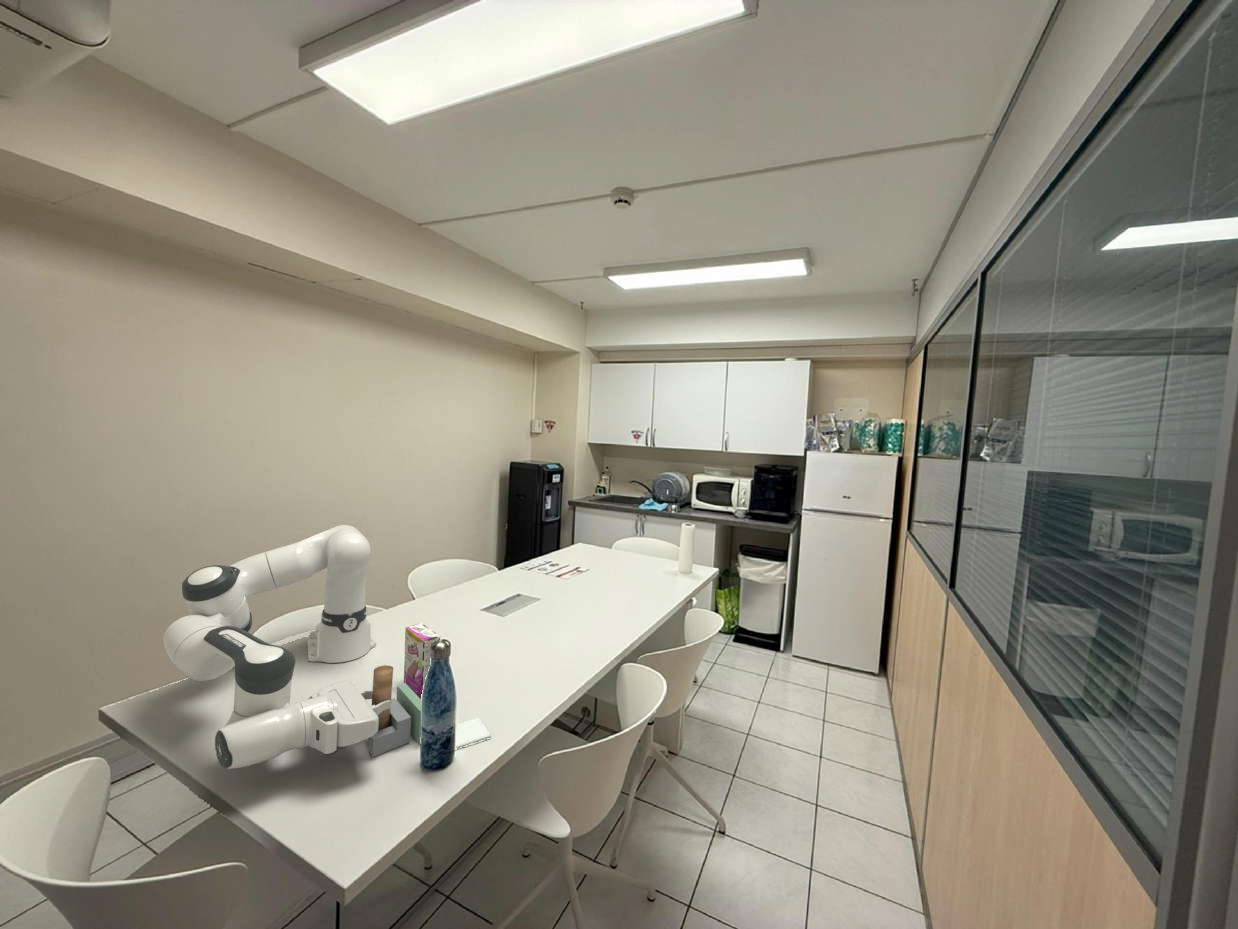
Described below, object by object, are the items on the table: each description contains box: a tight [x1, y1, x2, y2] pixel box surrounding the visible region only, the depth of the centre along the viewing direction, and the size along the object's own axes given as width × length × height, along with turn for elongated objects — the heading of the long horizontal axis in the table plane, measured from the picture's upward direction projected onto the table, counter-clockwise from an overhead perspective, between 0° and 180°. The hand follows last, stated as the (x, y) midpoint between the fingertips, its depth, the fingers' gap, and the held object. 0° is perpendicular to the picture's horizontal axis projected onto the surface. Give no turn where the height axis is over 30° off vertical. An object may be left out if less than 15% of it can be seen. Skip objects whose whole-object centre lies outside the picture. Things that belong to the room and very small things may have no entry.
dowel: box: [368, 664, 394, 742], centre depth 111 cm, size 4×4×16 cm
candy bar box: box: [403, 622, 441, 699], centre depth 134 cm, size 11×5×16 cm, turn 48°
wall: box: [396, 682, 423, 746], centre depth 116 cm, size 14×2×8 cm, turn 45°
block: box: [368, 697, 411, 758], centre depth 112 cm, size 10×8×6 cm
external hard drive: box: [456, 717, 492, 750], centre depth 115 cm, size 2×8×12 cm
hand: (385, 697), depth 112 cm, fingers closed on dowel, 4 cm apart
